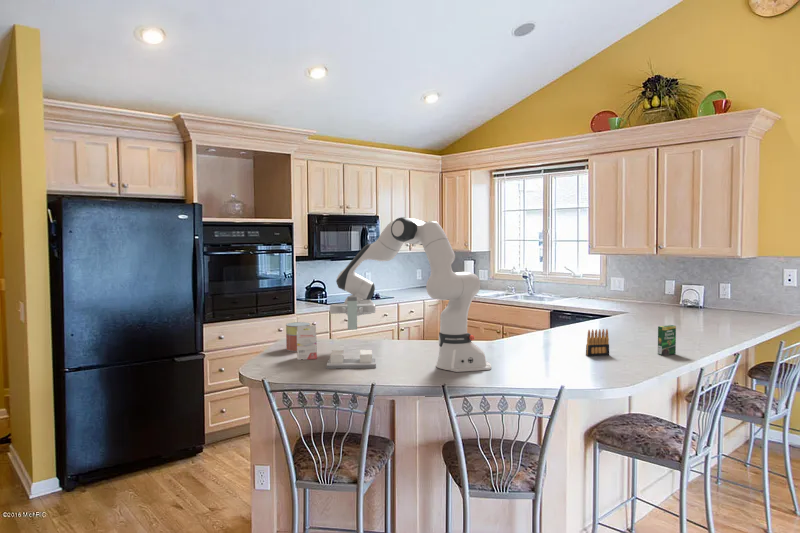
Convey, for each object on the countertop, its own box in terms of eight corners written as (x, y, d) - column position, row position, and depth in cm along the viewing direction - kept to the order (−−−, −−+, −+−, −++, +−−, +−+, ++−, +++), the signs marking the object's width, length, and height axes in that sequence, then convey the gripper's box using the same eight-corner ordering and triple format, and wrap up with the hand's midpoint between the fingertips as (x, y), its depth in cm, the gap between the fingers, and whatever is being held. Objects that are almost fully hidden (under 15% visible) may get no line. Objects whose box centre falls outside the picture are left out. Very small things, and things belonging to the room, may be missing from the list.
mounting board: (375, 361, 245) (375, 349, 245) (375, 367, 234) (375, 355, 233) (328, 361, 244) (328, 349, 244) (326, 368, 232) (326, 356, 232)
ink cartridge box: (316, 356, 255) (316, 323, 254) (316, 359, 250) (316, 325, 249) (296, 357, 253) (296, 324, 252) (297, 359, 248) (296, 326, 247)
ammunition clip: (587, 356, 255) (588, 329, 254) (585, 355, 256) (586, 329, 256) (609, 355, 257) (610, 329, 256) (607, 354, 259) (607, 328, 258)
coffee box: (661, 355, 256) (662, 326, 255) (656, 354, 259) (657, 325, 258) (676, 354, 258) (676, 325, 258) (671, 353, 261) (672, 324, 260)
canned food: (312, 346, 276) (312, 322, 275) (306, 351, 265) (306, 326, 264) (290, 346, 277) (289, 322, 277) (283, 351, 266) (282, 325, 265)
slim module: (357, 328, 250) (356, 296, 249) (357, 329, 246) (356, 297, 245) (348, 328, 250) (347, 296, 249) (347, 329, 246) (347, 297, 245)
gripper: (330, 300, 260) (327, 303, 246) (375, 299, 261) (375, 303, 247) (330, 314, 260) (328, 318, 246) (375, 313, 261) (375, 317, 247)
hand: (352, 310), depth 246 cm, fingers closed on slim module, 4 cm apart
